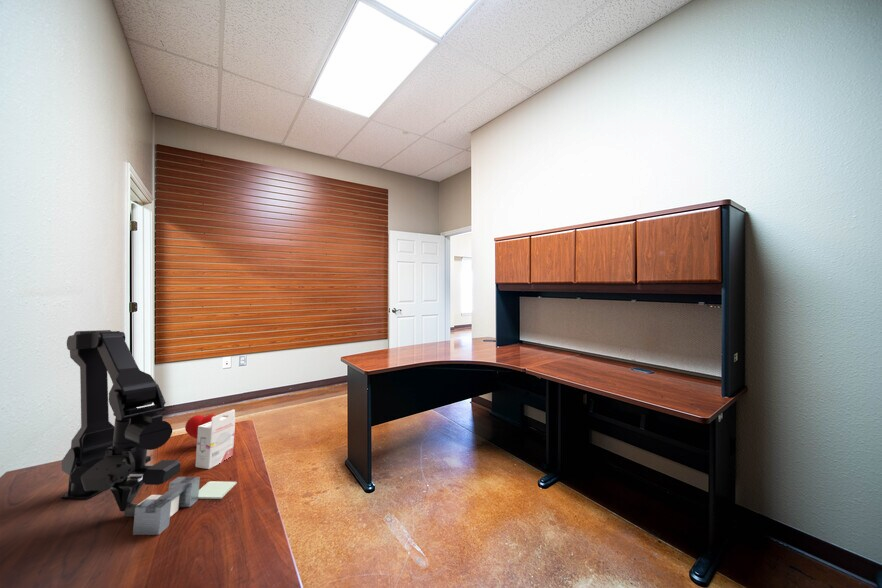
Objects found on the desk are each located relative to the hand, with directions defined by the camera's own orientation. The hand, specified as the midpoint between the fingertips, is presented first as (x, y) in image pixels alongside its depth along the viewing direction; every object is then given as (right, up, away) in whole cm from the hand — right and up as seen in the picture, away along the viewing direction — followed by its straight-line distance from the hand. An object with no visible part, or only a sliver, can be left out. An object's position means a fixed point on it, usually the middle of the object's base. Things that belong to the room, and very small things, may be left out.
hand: (124, 510), depth 72 cm
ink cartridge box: (+2, -3, +25) cm, 25 cm away
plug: (+5, -1, 0) cm, 6 cm away
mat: (+12, -2, +11) cm, 17 cm away
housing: (+10, -2, +1) cm, 10 cm away
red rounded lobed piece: (-8, -2, +34) cm, 36 cm away
